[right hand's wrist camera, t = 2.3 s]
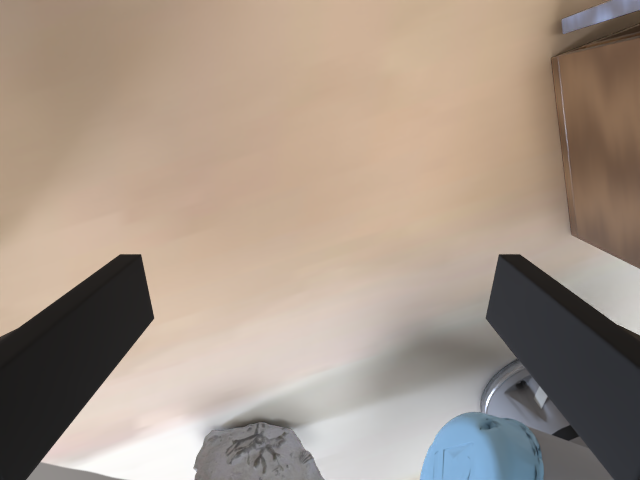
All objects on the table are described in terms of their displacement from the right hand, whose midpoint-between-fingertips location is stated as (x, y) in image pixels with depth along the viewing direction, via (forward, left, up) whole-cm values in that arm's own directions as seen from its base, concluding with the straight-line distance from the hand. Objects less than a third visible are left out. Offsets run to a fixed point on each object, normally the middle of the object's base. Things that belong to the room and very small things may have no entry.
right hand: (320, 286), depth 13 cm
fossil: (+37, 0, -24) cm, 44 cm away
